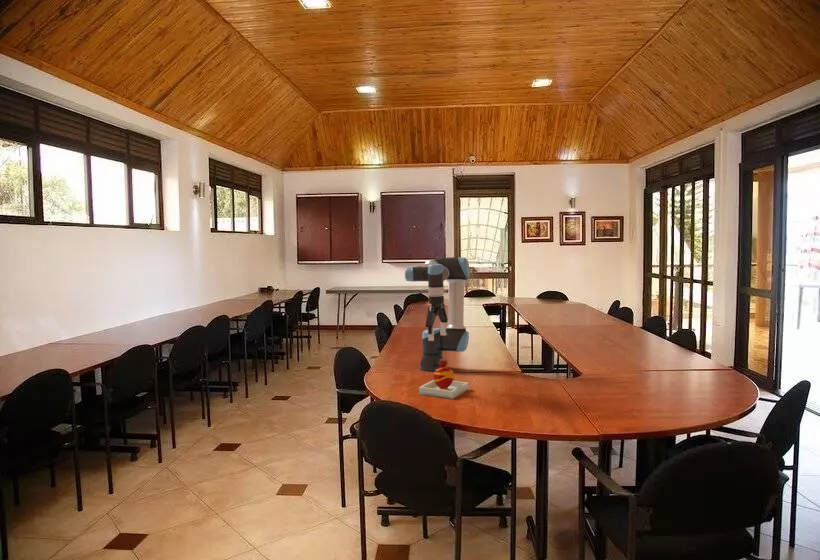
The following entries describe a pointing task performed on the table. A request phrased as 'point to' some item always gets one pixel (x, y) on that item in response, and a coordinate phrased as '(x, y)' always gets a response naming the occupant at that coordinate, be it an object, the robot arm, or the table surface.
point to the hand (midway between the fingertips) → (437, 337)
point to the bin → (433, 390)
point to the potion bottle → (443, 375)
